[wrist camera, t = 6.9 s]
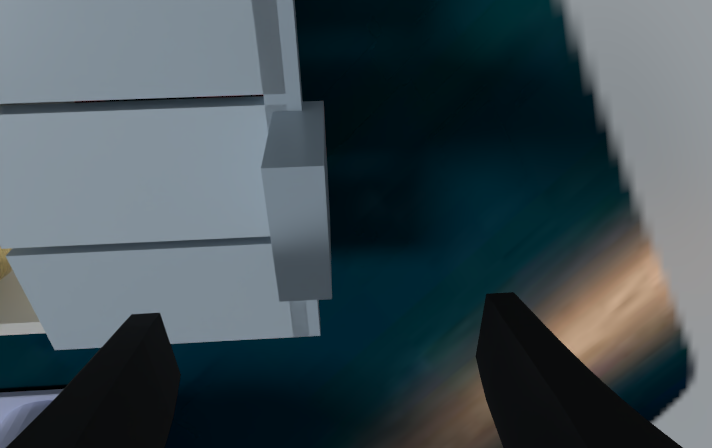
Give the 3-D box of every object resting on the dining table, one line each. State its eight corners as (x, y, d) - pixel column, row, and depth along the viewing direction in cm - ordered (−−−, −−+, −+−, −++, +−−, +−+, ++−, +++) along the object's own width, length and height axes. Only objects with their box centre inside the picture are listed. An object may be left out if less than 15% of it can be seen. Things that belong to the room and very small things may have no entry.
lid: (335, 321, 19) (338, 411, 16) (62, 335, 19) (8, 430, 16) (312, -103, 12) (308, -98, 8) (-152, -93, 11) (-350, -84, 8)
